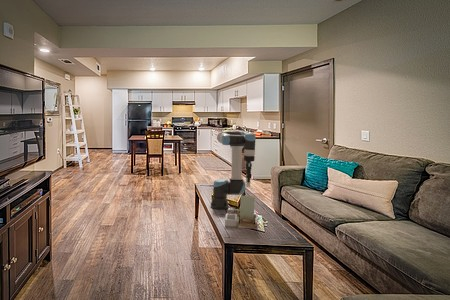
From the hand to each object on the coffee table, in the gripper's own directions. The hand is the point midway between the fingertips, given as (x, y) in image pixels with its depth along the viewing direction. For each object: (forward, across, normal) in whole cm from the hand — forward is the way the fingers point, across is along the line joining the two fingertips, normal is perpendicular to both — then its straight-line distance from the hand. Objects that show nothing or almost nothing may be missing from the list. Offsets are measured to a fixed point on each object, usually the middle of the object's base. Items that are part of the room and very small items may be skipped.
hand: (247, 184), depth 240 cm
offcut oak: (+24, +6, 0) cm, 25 cm away
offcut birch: (+29, +6, 0) cm, 29 cm away
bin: (+28, +2, -11) cm, 31 cm away
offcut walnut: (+26, +6, 0) cm, 27 cm away
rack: (+28, +3, 0) cm, 29 cm away
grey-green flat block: (+28, 0, 0) cm, 29 cm away
